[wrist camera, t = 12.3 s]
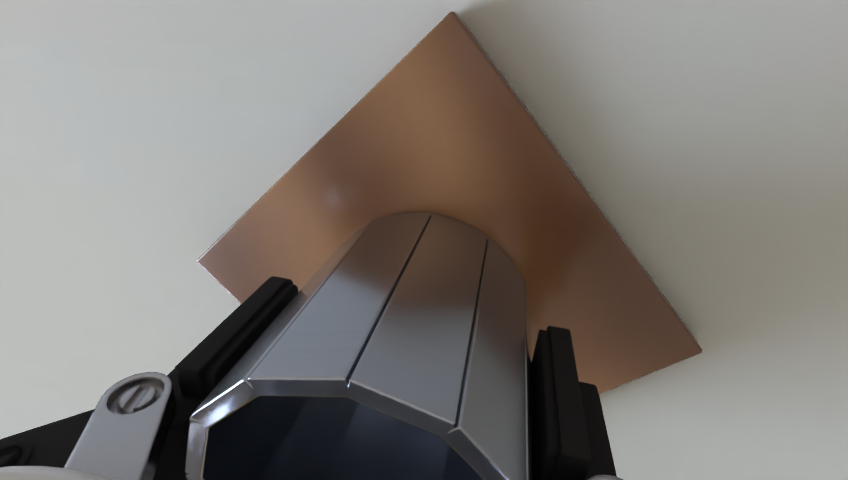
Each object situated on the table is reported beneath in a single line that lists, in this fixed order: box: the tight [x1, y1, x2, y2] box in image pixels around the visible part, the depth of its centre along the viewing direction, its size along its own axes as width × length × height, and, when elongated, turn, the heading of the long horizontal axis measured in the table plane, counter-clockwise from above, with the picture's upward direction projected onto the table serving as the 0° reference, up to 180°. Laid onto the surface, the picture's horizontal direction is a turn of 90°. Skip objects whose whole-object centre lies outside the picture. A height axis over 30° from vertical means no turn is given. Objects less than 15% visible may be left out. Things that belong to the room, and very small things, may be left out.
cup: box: [184, 212, 535, 480], centre depth 11 cm, size 7×7×7 cm
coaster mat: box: [197, 11, 702, 394], centre depth 14 cm, size 12×12×1 cm
